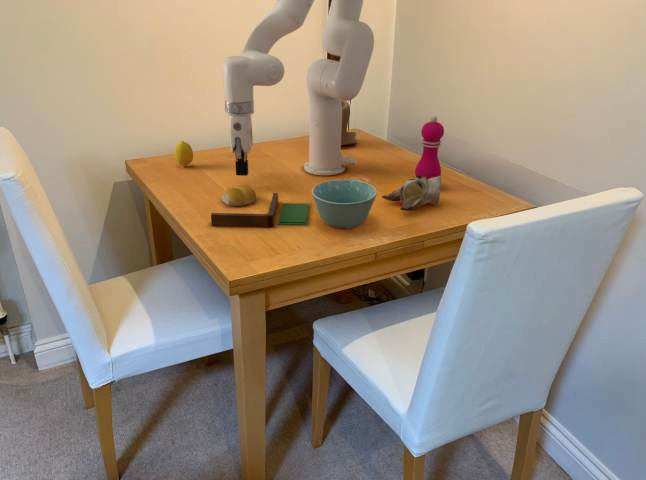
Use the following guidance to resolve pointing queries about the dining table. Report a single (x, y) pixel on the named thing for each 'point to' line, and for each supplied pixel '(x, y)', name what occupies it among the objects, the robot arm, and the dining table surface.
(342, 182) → the bowl
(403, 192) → the ceramic sculpture
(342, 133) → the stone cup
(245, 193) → the bread roll
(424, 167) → the pepper mill
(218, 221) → the corner guide
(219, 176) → the dining table surface
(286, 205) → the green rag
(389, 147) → the dining table surface
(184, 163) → the lemon
